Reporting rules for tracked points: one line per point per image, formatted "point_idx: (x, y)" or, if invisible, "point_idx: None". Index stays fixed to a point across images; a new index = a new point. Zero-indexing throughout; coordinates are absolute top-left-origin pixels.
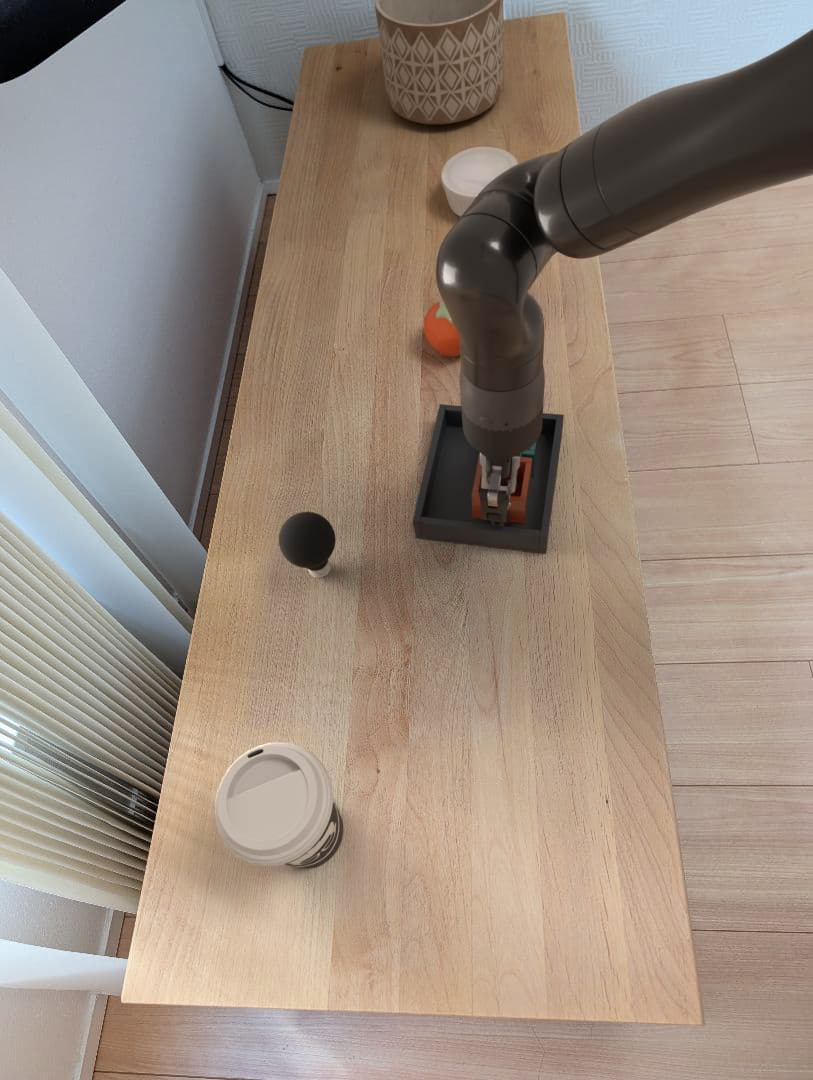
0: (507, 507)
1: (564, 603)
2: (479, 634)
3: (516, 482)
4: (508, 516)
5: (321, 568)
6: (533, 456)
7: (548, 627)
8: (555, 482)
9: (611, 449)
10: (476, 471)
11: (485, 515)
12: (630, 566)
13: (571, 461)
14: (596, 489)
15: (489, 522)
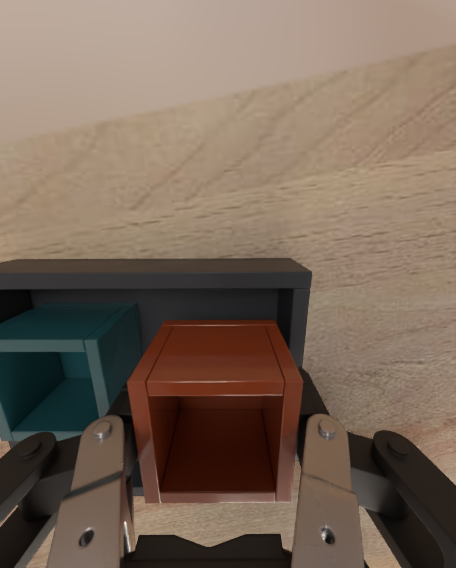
0: (426, 499)
1: (391, 213)
2: (438, 340)
3: (309, 496)
4: (408, 450)
5: (366, 564)
6: (101, 337)
7: (437, 236)
8: (137, 260)
9: (18, 149)
10: (207, 501)
11: (429, 532)
12: (309, 78)
13: (76, 233)
14: (130, 174)
15: None
